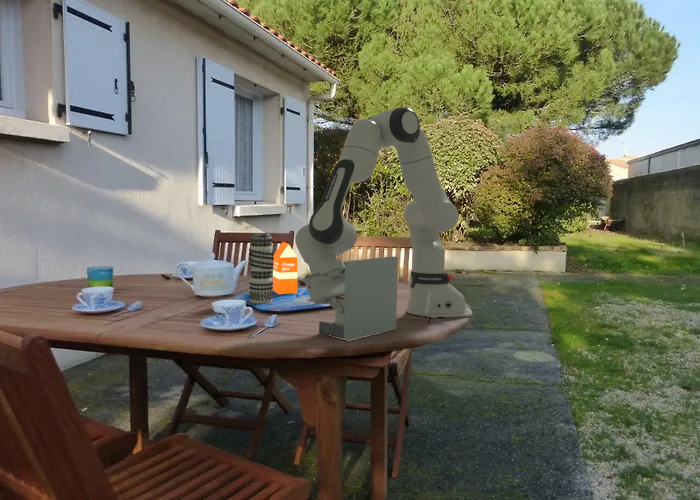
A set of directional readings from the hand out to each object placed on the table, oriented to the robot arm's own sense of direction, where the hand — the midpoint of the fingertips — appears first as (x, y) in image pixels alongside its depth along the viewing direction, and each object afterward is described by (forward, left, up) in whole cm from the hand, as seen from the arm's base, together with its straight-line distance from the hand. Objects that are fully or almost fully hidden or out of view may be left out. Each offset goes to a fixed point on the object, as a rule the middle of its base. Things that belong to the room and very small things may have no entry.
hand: (350, 310), depth 160 cm
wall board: (-3, -4, -7) cm, 9 cm away
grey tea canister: (0, 0, -5) cm, 5 cm away
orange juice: (+21, -69, -7) cm, 73 cm away
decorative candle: (+29, -49, -7) cm, 58 cm away
